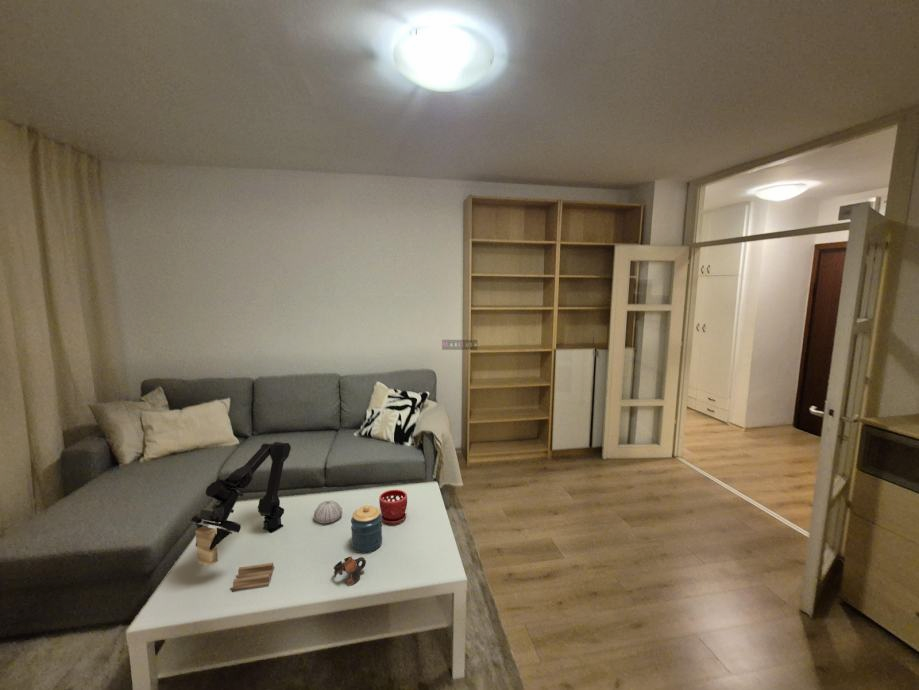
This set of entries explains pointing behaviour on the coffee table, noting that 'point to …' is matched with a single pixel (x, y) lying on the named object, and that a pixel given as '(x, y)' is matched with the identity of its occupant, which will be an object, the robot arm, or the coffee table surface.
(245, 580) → the mating board
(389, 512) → the plant pot
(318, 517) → the sea urchin shell
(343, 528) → the coffee table surface
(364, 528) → the canister
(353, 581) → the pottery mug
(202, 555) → the wooden block
